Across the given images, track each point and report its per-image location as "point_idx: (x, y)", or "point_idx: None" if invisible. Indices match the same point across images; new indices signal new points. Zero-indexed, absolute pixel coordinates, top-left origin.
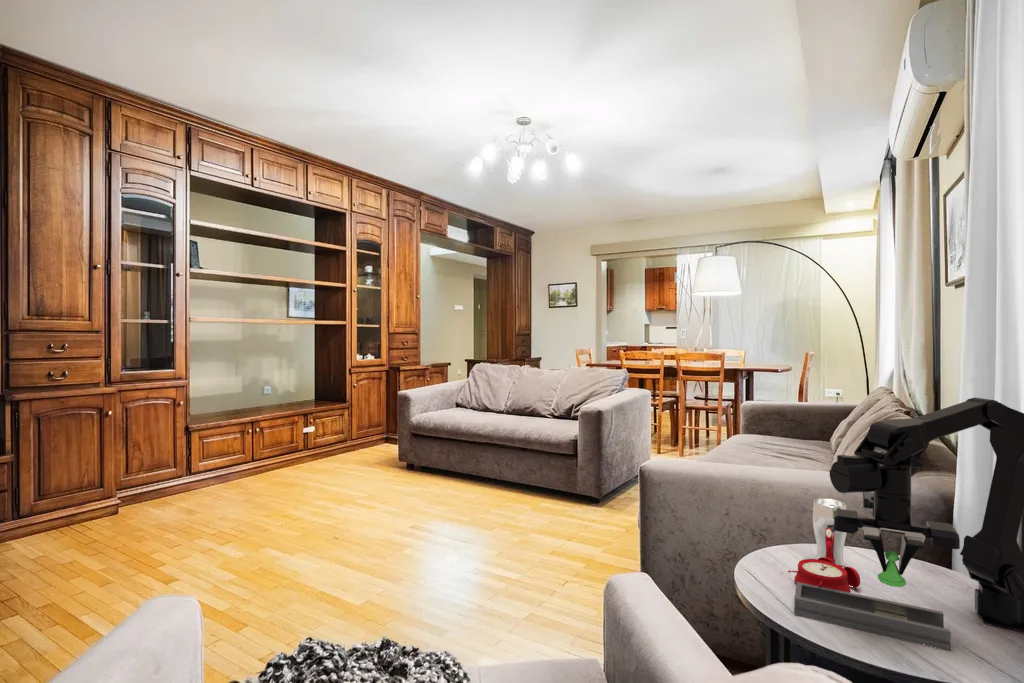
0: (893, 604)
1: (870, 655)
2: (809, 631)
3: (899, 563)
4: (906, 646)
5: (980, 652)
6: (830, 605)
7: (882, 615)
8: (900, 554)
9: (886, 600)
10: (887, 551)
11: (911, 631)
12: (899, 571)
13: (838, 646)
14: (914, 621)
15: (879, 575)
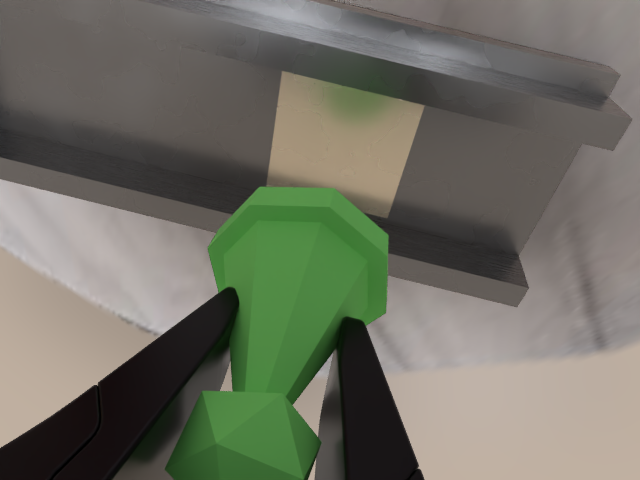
0: (366, 90)
1: None
2: (51, 242)
3: (331, 401)
4: None
5: (617, 257)
6: (63, 189)
7: None
8: (337, 476)
9: (339, 52)
10: (196, 453)
11: None
12: (332, 362)
13: (139, 302)
14: (448, 129)
15: (215, 266)
